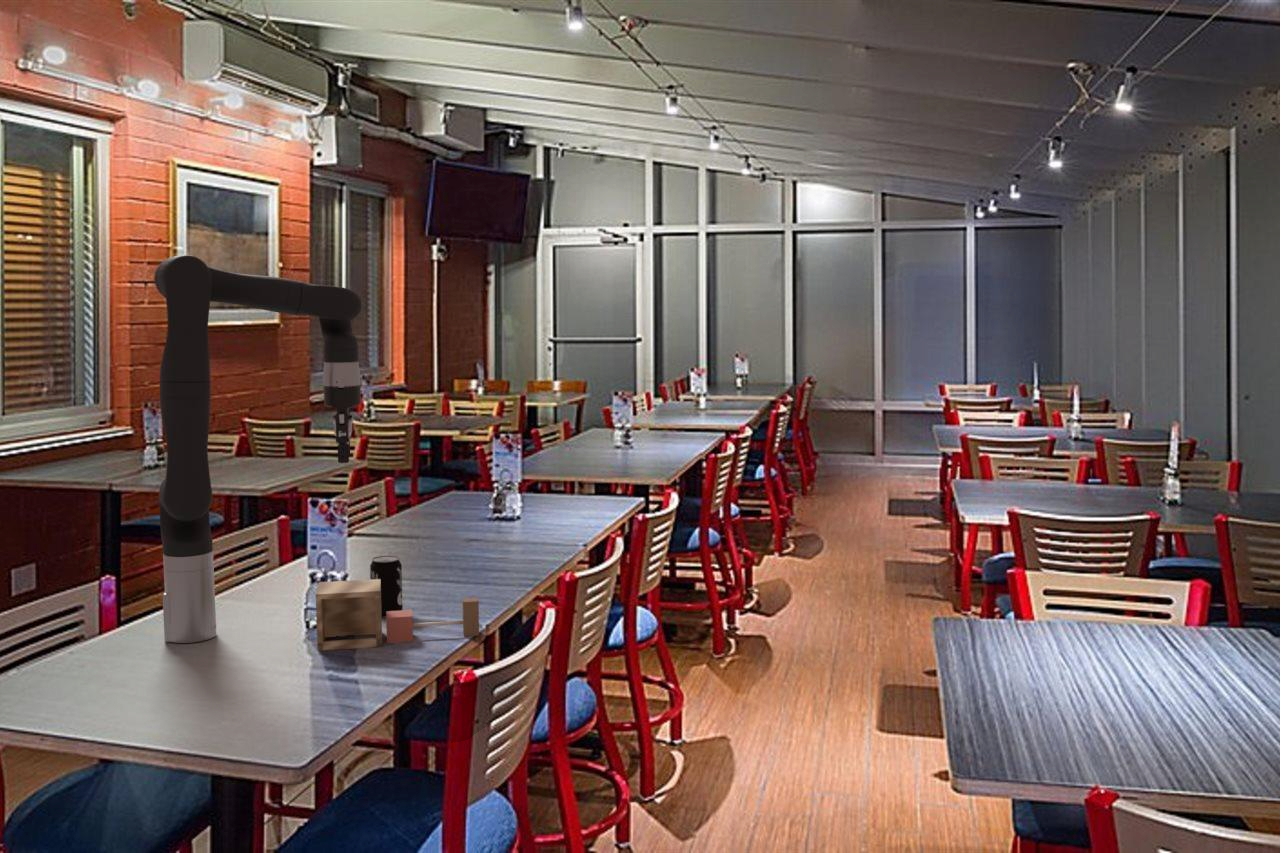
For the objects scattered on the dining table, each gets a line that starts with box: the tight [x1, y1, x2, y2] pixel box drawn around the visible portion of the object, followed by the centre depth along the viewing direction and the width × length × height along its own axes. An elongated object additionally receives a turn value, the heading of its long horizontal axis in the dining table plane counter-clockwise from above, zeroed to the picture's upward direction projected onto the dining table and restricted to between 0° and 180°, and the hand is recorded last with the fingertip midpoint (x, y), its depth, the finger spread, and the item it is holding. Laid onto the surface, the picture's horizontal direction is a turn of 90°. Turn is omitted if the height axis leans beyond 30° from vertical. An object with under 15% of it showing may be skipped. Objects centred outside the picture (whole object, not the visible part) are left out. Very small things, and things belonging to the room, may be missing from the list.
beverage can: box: [369, 554, 404, 617], centre depth 249 cm, size 7×7×12 cm
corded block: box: [385, 597, 480, 644], centre depth 232 cm, size 18×5×7 cm, turn 102°
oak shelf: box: [315, 579, 383, 652], centre depth 228 cm, size 12×10×11 cm
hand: (344, 460), depth 246 cm, fingers open, 8 cm apart
